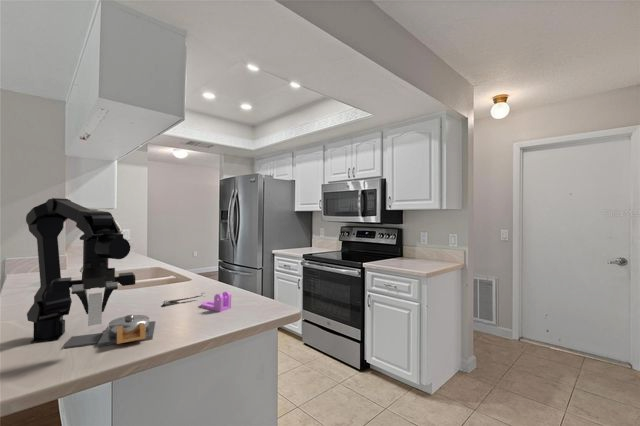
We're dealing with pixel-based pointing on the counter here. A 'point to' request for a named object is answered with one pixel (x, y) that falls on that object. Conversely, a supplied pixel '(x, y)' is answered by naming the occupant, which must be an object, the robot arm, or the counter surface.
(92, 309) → the gray rectangular block
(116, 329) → the oval metal lid
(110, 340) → the base plate
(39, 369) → the counter surface
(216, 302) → the bracket
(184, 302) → the hacksaw
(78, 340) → the mat
